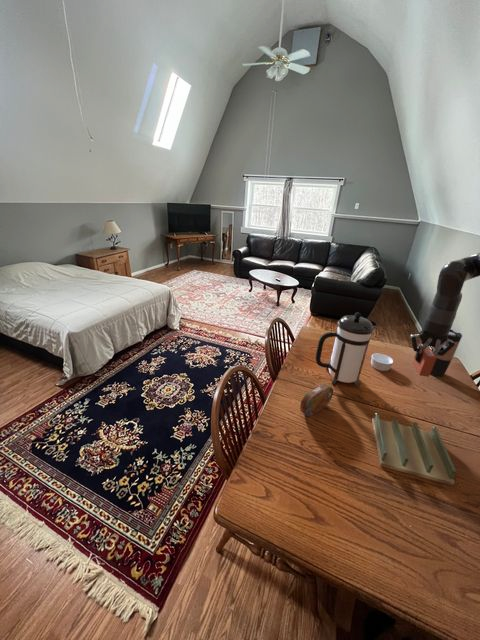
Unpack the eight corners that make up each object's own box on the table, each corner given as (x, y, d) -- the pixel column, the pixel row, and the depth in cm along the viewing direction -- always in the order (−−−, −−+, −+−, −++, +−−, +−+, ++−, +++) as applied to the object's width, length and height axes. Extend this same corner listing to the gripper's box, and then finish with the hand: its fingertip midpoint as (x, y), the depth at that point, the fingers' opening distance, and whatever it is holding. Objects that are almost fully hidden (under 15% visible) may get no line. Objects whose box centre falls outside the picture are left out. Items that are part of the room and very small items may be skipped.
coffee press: (335, 362, 123) (349, 301, 110) (368, 380, 112) (387, 315, 99) (311, 375, 113) (323, 310, 100) (344, 396, 102) (363, 326, 89)
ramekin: (366, 360, 126) (368, 352, 124) (385, 361, 126) (387, 353, 124) (374, 371, 118) (376, 363, 116) (394, 372, 118) (397, 364, 116)
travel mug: (427, 375, 117) (443, 334, 109) (422, 365, 124) (437, 327, 115) (447, 379, 115) (465, 338, 107) (441, 369, 122) (458, 330, 113)
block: (421, 363, 102) (428, 345, 99) (428, 377, 94) (436, 357, 91) (412, 362, 103) (419, 344, 100) (419, 375, 95) (426, 356, 92)
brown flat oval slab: (303, 420, 90) (307, 400, 87) (296, 414, 93) (300, 395, 89) (331, 403, 99) (335, 384, 95) (324, 398, 101) (328, 380, 97)
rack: (431, 434, 87) (435, 424, 85) (453, 486, 71) (459, 475, 70) (371, 420, 92) (374, 410, 90) (380, 465, 76) (384, 455, 74)
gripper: (419, 320, 89) (404, 363, 96) (468, 327, 85) (449, 372, 92) (413, 312, 95) (399, 353, 103) (459, 318, 92) (441, 360, 99)
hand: (423, 362), depth 97 cm, fingers closed on block, 3 cm apart
